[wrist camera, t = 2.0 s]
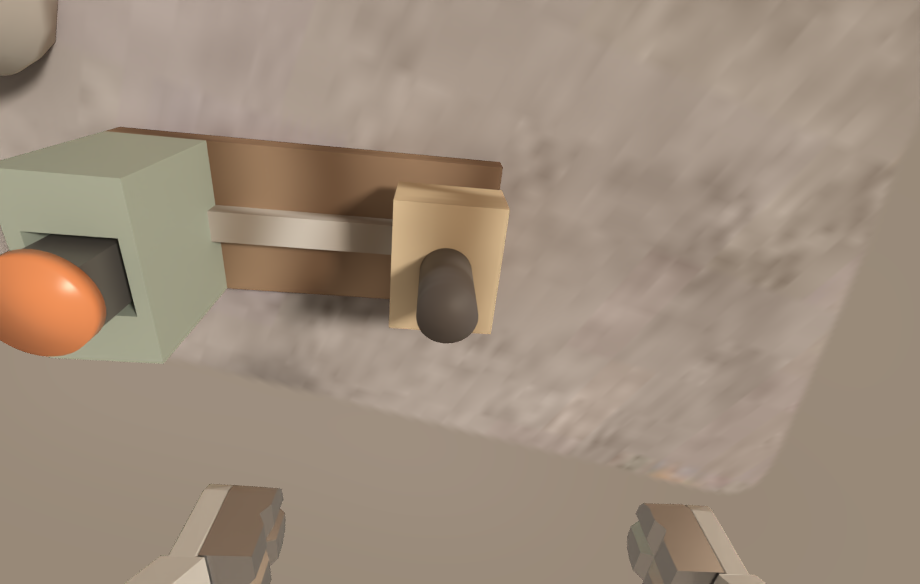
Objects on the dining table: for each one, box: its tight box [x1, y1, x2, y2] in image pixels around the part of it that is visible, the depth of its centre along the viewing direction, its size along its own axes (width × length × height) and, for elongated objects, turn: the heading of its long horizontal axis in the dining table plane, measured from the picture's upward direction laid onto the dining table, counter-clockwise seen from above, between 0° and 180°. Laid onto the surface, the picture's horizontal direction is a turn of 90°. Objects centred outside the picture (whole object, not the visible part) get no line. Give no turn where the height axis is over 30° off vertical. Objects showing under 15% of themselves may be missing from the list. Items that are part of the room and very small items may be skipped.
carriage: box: [389, 181, 510, 343], centre depth 21 cm, size 5×6×7 cm
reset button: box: [0, 234, 133, 356], centre depth 18 cm, size 4×4×5 cm
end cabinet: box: [0, 131, 227, 364], centre depth 21 cm, size 5×8×7 cm, turn 174°
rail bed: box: [107, 127, 503, 299], centre depth 25 cm, size 19×8×2 cm, turn 84°
